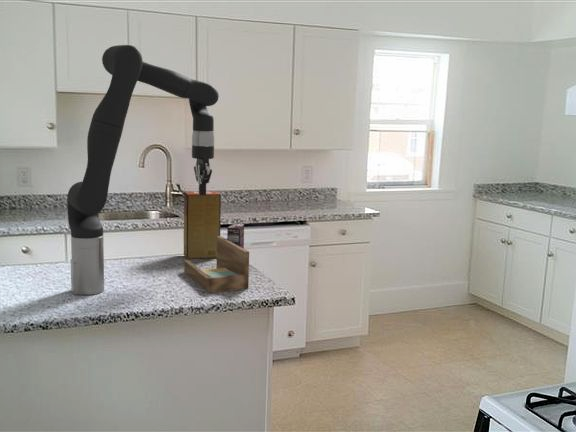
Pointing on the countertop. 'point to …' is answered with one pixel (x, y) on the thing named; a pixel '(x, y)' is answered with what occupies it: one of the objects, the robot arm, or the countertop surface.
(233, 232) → the supplement box
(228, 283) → the book rack
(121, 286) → the countertop surface
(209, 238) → the food packaging
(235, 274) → the book block
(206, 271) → the ochre book block
